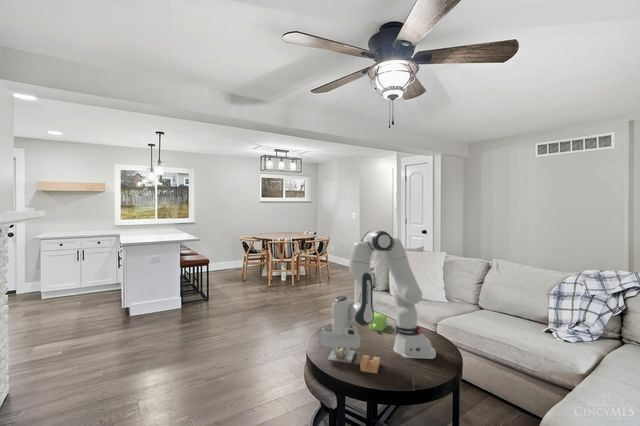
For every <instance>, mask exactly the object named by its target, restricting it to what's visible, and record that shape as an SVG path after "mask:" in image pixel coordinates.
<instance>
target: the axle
mask: <svg viewBox="0 0 640 426" xmlns="http://www.w3.org/2000/svg"><path fill="white" fill-rule="evenodd" d="M345 350H346V349H345V348H343V347H340V349H339V351H338V353H337V355H336V359H337V360H341V359H342V357H343V352H344V351H345Z"/></svg>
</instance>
